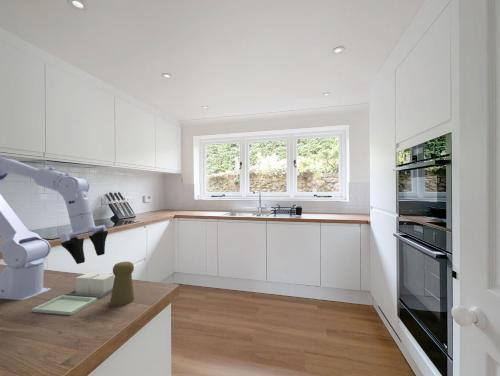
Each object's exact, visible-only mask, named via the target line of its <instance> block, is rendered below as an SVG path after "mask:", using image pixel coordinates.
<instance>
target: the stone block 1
mask: <svg viewBox="0 0 500 376" xmlns="http://www.w3.org/2000/svg"><path fill="white" fill-rule="evenodd" d="M98 275H101V273H91V272H90V273H89V272H87V273H84V274H81V275H80V276H77V277H76V278H75V289H76V291H75V293H82V294H89V293H91V278H94V277H96V276H98Z"/></svg>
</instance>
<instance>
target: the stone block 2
mask: <svg viewBox="0 0 500 376" xmlns="http://www.w3.org/2000/svg"><path fill="white" fill-rule="evenodd" d="M114 278H115V275H114V274H107V273H105V274H104V273H100V275H98V276H96V277H94V278H91V293H90V294H95V295H102V294H103V293H105V292H107V291H109V290H111V289H113V284H114Z"/></svg>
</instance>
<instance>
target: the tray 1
mask: <svg viewBox="0 0 500 376" xmlns="http://www.w3.org/2000/svg"><path fill="white" fill-rule="evenodd" d="M97 301H98V299H97V298H92V297H79V296H66V295H65V294H63V295H59V296H57V297H55V298H53V299H51V300H49V301H46V302H44V303H42V304H40V305H37V306H35V307H33V308H32V309H31V310H32V313H33V312H34V313H43V314H44V313H45V314H53V315H54V314H55V315H66V316H72V315H74V314H76V313H78V312H79V311H81V310H83V309H85V308H86V307H88V306H90V305H92V304H94V303H95V302H97Z"/></svg>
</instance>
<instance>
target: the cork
mask: <svg viewBox="0 0 500 376" xmlns="http://www.w3.org/2000/svg"><path fill="white" fill-rule="evenodd" d="M134 270H135V266H134V264H133V262H132V261H120V262H118V263H117V262H116V264H114V266H113V267H112V275H114V284H113V290H112V293H111V295H110V296H111V297H110V302H109V303H110V304H109V305H111V306H113V307H115V306H116V307H119V306H120V307H121V306H126V305H129V304H131V303H133V302H134V301H135V294H134V293H135V291H134V286H133V276H132V275H133V272H134Z"/></svg>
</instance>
